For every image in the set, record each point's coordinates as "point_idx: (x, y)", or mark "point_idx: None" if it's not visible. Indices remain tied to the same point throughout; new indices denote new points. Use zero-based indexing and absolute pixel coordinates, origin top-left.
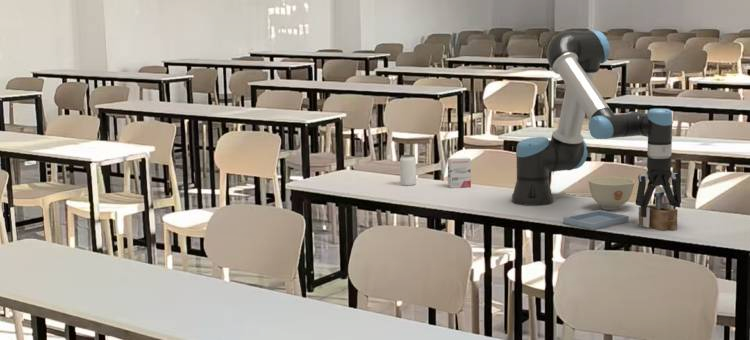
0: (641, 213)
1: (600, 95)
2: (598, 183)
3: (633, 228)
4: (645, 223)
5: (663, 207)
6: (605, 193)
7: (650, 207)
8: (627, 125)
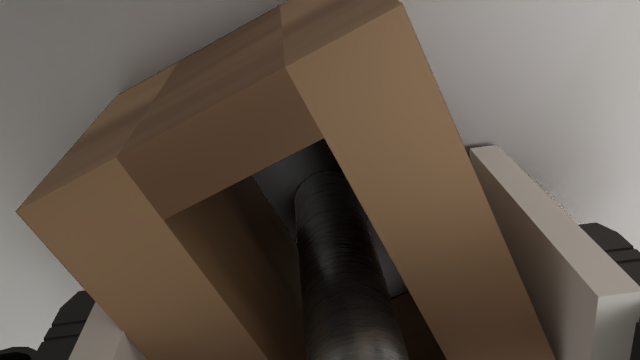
0: (55, 336)
1: None
2: None
3: (16, 232)
4: None
5: (485, 305)
6: None
7: (303, 135)
8: None
